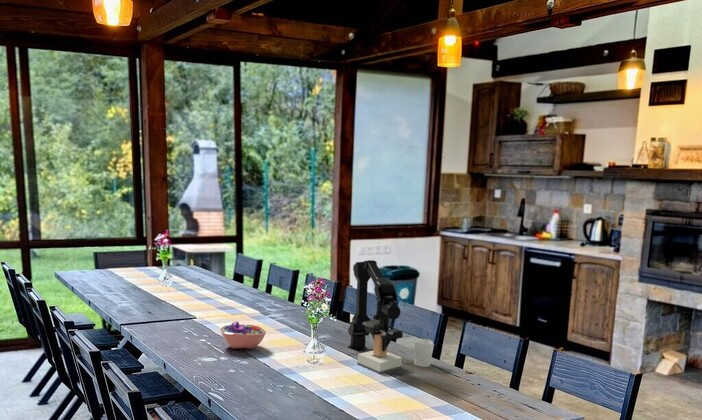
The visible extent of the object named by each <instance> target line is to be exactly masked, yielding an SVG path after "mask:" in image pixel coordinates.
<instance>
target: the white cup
mask: <svg viewBox="0 0 702 420" xmlns="http://www.w3.org/2000/svg"><path fill="white" fill-rule="evenodd" d="M413 347H414V349H413V350H414V352H413V353H414V354H413V357H414V358H413V360H414V361H413V363H414V365H415V366H416V367H421V368H428V367H430V366H431V361H432V360H431V359H432V355H433V349H434V348H433V347H434V342H433V340H430V339H426V338H417V339H415V340H414V346H413Z"/></svg>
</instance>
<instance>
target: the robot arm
mask: <svg viewBox="0 0 702 420" xmlns="http://www.w3.org/2000/svg"><path fill="white" fill-rule="evenodd" d="M352 270H353V276H354V278H355V280H356V281H357V282H356V283H357V284H356V307H355V314H354V315H353V316H352V319H351V323H350V325H349V326H348V328H347V333H348V335H349V336H350V344H349V345H348V346H347V347H348V348H350V349H353V350H354V351H361V350H365V349H366V350H367V349H368V347H367V346H366V342H367V341H366V336H370V335H371V336H372V339H373V340H374V336H375V335H376V334H381V333H383V334H384V336H381V338H382V339H383V344H382V351H383V352H384V351H385V350H386V348H387V349H388V346H389V345H390V343H391V341H392V340H397V339H402V338H403V331H402V330H400V329H397V328H393V329H391V328H392V325H390V319H391V320H397V319H398V318H399V317H400V316H401V312H402V311H401V308H400V307H399V306H398V305H397V302H398V295H397V292H396V289H395V288H396V287H395V285H394V284H393V282H391V280H389V279H387V278H385V277H384V275H383V273H382V271H381V269H380V267H379V266H378V262H377V261H376V260H367V259H366V260H364V261H356V262H355V264H353V268H352ZM370 279H371V280H372V282H373V283H374V293H375V296H376V297H375V300H376V311H375V313H376V314H373V316H372V317H373V318H372V319H371V318H370V317H369V315H368V314H367V310H368V309H367V307H368V286H369V285H368V283H369V281H370Z"/></svg>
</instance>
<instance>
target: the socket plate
mask: <svg viewBox="0 0 702 420" xmlns="http://www.w3.org/2000/svg"><path fill="white" fill-rule="evenodd" d="M402 364H403V357H402V356H399V355H396V354H393V353H391V352H388V351H387V354H386V355H381V356H378V355H375V354H373V350H369V351H366V352H361V353H360V352H359V353H358V354H357V366H360V367H362V368H364V369H366V368H367V369H366V370H369V371H371V372H374V373H376V374H378V375H381V374H385V373H388V372H393V371H396V370H399V369H402V366H403V365H402Z"/></svg>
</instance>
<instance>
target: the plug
mask: <svg viewBox="0 0 702 420" xmlns="http://www.w3.org/2000/svg"><path fill="white" fill-rule="evenodd" d="M384 334H385V333H383V332H382V333H381V334H376V335H375V336H374V339H373V348H372V349H373V350H372V351H373V354H375V355H378V356H381V355H386V354H387V352H388V347H387V348H386V350H385V351H384V352H383V351H382V344H383V339H382V338H381V336H384Z"/></svg>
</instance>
